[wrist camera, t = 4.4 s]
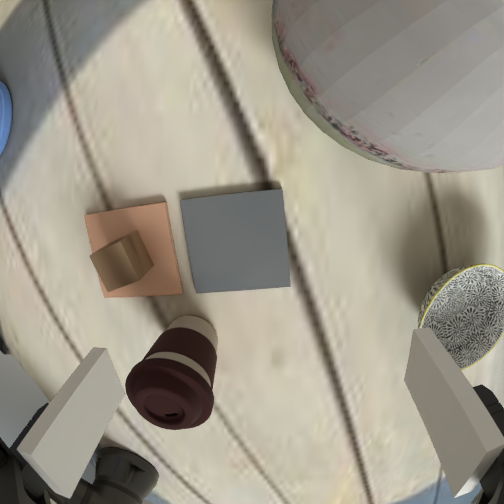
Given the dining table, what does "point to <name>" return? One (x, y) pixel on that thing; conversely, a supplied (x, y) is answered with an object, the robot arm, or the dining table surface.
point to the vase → (399, 77)
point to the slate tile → (237, 241)
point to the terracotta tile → (154, 238)
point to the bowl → (466, 311)
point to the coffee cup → (176, 376)
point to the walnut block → (122, 261)
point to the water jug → (4, 115)
